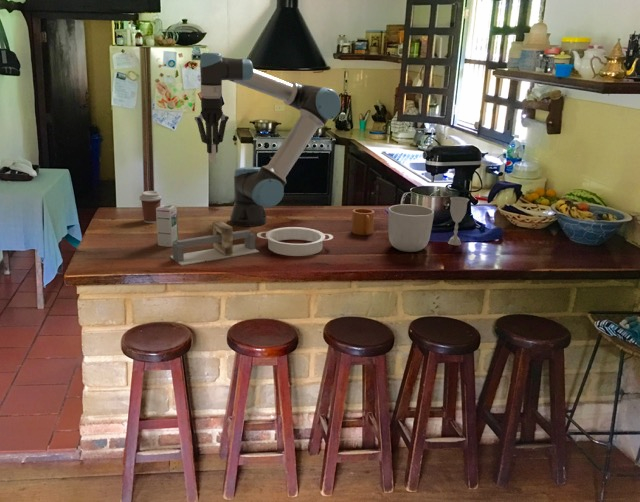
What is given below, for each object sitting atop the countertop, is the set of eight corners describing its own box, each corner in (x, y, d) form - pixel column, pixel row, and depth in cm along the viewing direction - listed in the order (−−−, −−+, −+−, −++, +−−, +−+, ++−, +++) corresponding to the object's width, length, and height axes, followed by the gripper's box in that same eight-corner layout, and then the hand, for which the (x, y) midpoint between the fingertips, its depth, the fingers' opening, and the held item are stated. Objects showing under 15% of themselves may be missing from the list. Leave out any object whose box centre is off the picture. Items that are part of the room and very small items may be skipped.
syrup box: (172, 247, 236) (170, 209, 231) (157, 245, 237) (155, 207, 233) (178, 242, 241) (177, 205, 237) (163, 241, 242) (162, 203, 238)
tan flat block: (220, 245, 236) (220, 220, 233) (232, 253, 228) (232, 227, 225) (213, 247, 234) (212, 221, 231) (225, 254, 227) (224, 228, 224)
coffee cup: (161, 217, 273) (159, 189, 269) (165, 223, 265) (164, 194, 261) (138, 218, 269) (137, 190, 266) (142, 224, 262) (141, 196, 258)
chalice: (465, 242, 255) (470, 198, 250) (461, 247, 249) (466, 202, 244) (447, 239, 258) (452, 195, 252) (443, 244, 252) (447, 199, 247)
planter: (439, 250, 245) (443, 211, 240) (409, 258, 234) (413, 218, 229) (406, 239, 257) (409, 202, 252) (376, 246, 246) (379, 208, 241)
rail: (245, 244, 242) (245, 226, 240) (258, 252, 234) (259, 233, 232) (170, 257, 226) (169, 237, 223) (181, 265, 218) (180, 245, 216)
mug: (353, 237, 256) (354, 215, 254) (350, 229, 268) (351, 208, 265) (375, 237, 257) (376, 215, 254) (372, 229, 268) (373, 208, 265)
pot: (254, 256, 231) (254, 243, 229) (258, 237, 252) (258, 225, 251) (333, 258, 232) (334, 246, 230) (331, 239, 253) (332, 228, 251)
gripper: (199, 98, 227) (200, 164, 235) (232, 97, 234) (232, 162, 242) (190, 96, 233) (192, 161, 240) (222, 95, 240) (223, 158, 248)
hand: (212, 161), depth 241 cm, fingers closed
